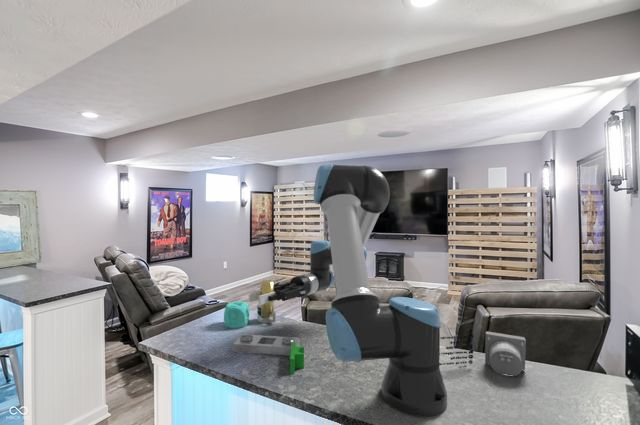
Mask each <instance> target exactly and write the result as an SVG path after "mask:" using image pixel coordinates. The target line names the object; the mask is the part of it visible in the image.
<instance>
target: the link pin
mask: <svg viewBox="0 0 640 425" xmlns="http://www.w3.org/2000/svg"><path fill="white" fill-rule="evenodd" d="M274 284H275V281H274V280H272V279H271V280H269V279H267V280H266V279H265V280H262V281H261V284H260V285H261V287H260V290H261V295H264V294H268V293H271V292H274ZM274 310H275V301H272V302H269V303H266V304H262V305H261V316H262V317H272V316H273V315H274Z"/></svg>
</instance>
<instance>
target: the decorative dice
mask: <svg viewBox="0 0 640 425" xmlns="http://www.w3.org/2000/svg"><path fill="white" fill-rule="evenodd" d="M223 313H224V314H223V323H224V325H225V326H226V327H227V328H229V329H241V328H245V327H246V326H247V325H248V324H249V320H250V306H249V304H248V303H247V302H245V301H233V302H229V303H227V304H226V305H225V308H224V312H223Z"/></svg>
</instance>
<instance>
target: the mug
mask: <svg viewBox="0 0 640 425" xmlns="http://www.w3.org/2000/svg"><path fill="white" fill-rule="evenodd" d="M256 308H257V312H256V313H257V314H256V315H257V319H256V320H257V323H259V324H262V325H263V324H264V325H266V324H272V323H275V322H276V320H277V312H276V311H275V309H274V315H273V316H272V317H262V316H261V305H259V303H258V304H257V306H256Z"/></svg>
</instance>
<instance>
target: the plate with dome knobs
mask: <svg viewBox="0 0 640 425" xmlns="http://www.w3.org/2000/svg"><path fill="white" fill-rule="evenodd" d="M300 339H301V338H300V337H295V336H293V337H292V336H279V335H278V336H275V335H261V334H260V335H258V334H245V333H244V334H243V333H242V334H240V336H239V337H238V338H237V339H236V340H235V341H234V342H233V343H232V352H233V353H245V354H260V355H275V356H285V357H286V356H289V357H290V356H291V348H292V342H296V346H300V344H301V343H300V342H301V341H300Z"/></svg>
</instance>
